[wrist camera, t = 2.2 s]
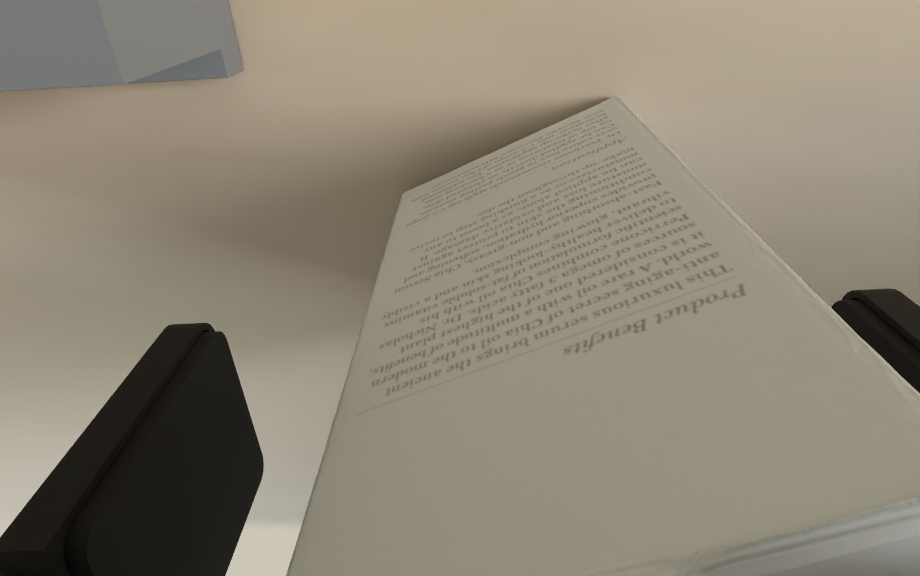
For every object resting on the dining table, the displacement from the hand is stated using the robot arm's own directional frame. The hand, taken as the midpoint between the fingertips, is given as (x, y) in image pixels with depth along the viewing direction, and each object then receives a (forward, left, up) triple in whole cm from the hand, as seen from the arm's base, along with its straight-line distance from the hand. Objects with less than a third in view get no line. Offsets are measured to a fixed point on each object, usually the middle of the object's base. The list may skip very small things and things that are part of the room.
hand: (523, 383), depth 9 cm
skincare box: (-1, 0, -7) cm, 7 cm away
